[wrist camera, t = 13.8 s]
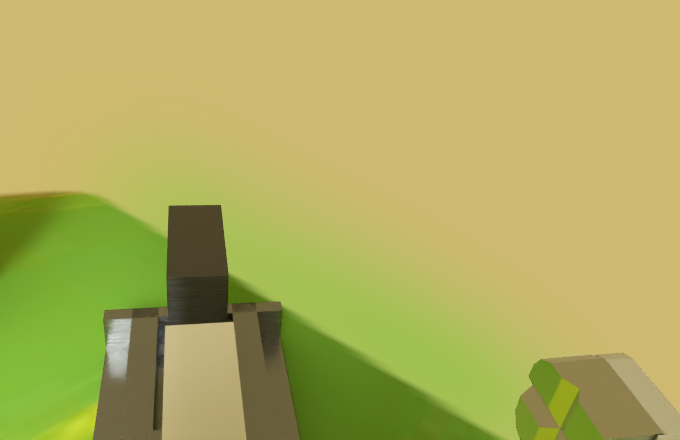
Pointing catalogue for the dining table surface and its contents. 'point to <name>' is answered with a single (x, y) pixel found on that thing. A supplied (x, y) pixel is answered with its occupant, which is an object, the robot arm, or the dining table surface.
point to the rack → (193, 308)
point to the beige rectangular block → (202, 383)
